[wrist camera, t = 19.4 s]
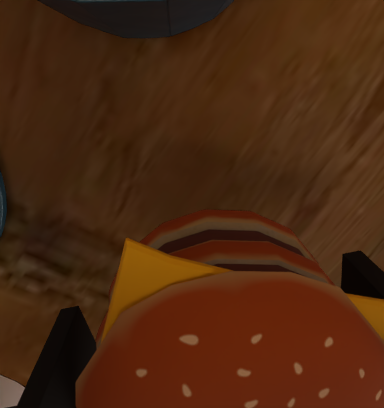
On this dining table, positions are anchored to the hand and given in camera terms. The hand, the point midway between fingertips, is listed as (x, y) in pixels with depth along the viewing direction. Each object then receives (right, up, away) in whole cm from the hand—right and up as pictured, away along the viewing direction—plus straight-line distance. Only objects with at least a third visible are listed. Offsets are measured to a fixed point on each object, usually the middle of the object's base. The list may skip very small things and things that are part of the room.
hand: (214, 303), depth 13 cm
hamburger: (0, 0, 0) cm, 1 cm away
